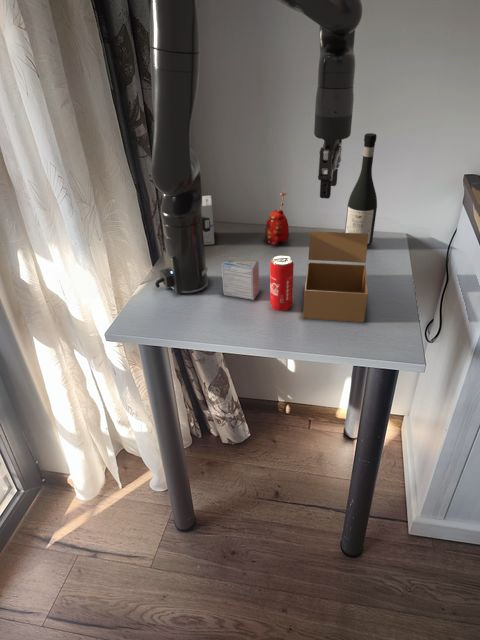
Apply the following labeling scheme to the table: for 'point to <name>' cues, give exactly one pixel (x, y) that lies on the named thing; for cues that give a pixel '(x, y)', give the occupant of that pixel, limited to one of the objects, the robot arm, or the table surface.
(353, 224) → the wine bottle
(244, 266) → the medicine box
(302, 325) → the table surface
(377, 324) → the table surface
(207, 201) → the ink box
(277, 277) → the beverage can
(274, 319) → the table surface
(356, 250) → the flap
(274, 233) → the red rounded body
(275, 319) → the table surface
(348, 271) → the carton
